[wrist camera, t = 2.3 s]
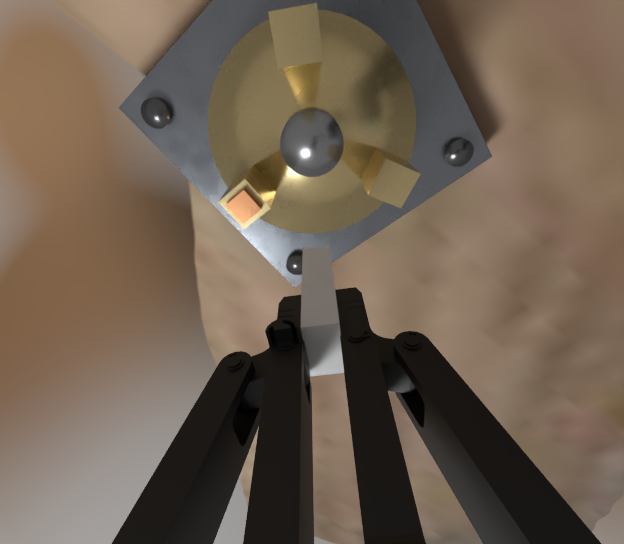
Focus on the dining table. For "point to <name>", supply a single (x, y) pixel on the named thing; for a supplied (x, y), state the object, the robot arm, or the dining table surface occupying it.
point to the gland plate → (203, 71)
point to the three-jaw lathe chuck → (312, 123)
